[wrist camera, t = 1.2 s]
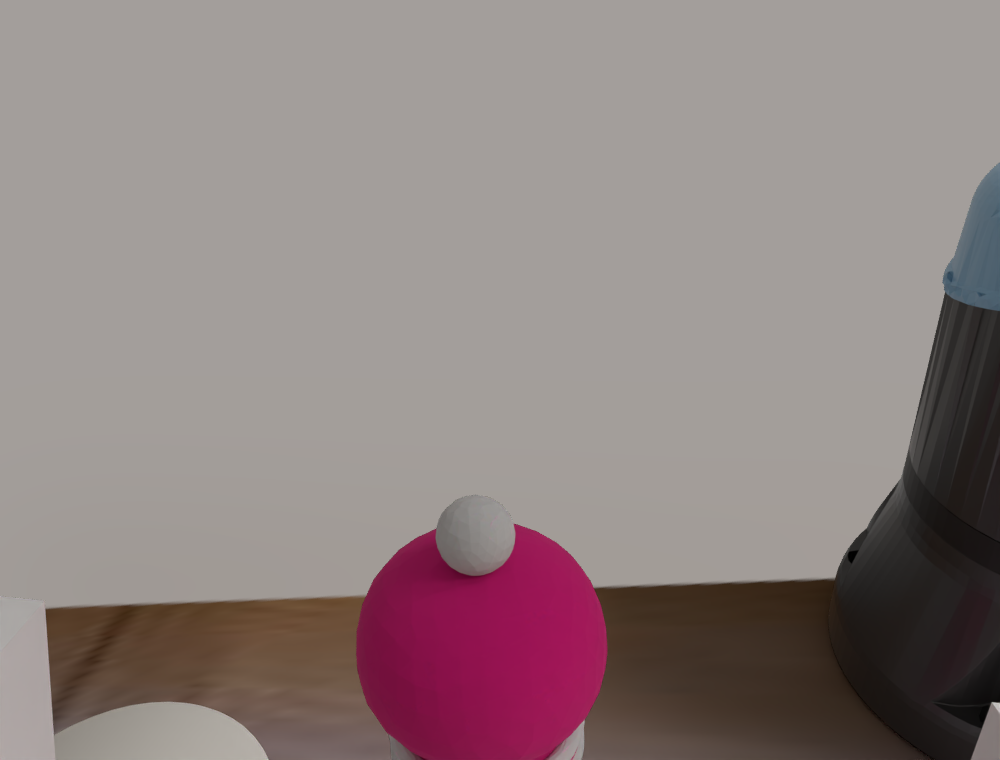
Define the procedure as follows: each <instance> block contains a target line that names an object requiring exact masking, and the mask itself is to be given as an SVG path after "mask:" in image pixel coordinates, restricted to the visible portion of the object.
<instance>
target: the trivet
mask: <svg viewBox="0 0 1000 760" xmlns="http://www.w3.org/2000/svg"><path fill="white" fill-rule="evenodd" d="M54 745H55V760H268V758H267V755H266V753H265V751H264V749H263V748H262V746H261V745H260V744H259V742H258V741H257V739H256V738H255V737H254V736H253V735H252V734H251V733H250V732H249V731H248V730H247V729H246V728H245V727H244V726H243V725H241V724H240V723H238V722H237V721H236V720H234V719H233V718H231V717H229V716H227V715H225V714H223V713H221V712H219V711H216V710H213V709H210V708H207V707H204V706H200V705H194V704H189V703H179V702H153V703H144V704H137V705H131V706H126V707H122V708H118V709H114V710H110V711H107V712H104V713H102V714H99V715H96V716H93V717H90V718H88V719H86V720H83V721H81V722H79V723H76V724H74V725H72V726H70V727H68V728H66V729H64V730H62V731H61V732H59V733H57V734H55V735H54Z"/></svg>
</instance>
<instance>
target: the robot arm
mask: <svg viewBox="0 0 1000 760" xmlns="http://www.w3.org/2000/svg"><path fill="white" fill-rule="evenodd" d="M943 284H944V290H945V295H944V300H943V304H942V308H941V313H940V317H939V321H938V326H937V330H936V334H935V338H934V343H933V347H932V351H931V356H930V360H929V364H928V368H927V373H926V377H925V381H924V385H923V390H922V394H921V398H920V402H919V407H918V411H917V415H916V420H915V424H914V428H913V432H912V436H911V441H910V445H909V450H908V454H907V458H906V462H905V466H904V469H903V474H902V477H901V479H900V480H899V481H898V483H897V484H896V485H895V487H894V488H893V489H892V491H891V492H890V493H889V495H888V496H887V497H886V499H885V500H884V501H883V503H882V504H881V506H880V507H879V508H878V510H877V511H876V513H875V514H874V516H873V518H872V519H871V521H870V523H869V525H868V527H867V529H866V530H864V531H863V532H862V533H861V534H860V535H859V536H858V537H857V538H856V539H855V541H854V542H853V543H852V545H851V546H850V547H849V548H848V550H847V552H846V553H845V555H844V557H843V559H842V561H841V563H840V566H839V568H838V571H837V575H836V578H835V583H834V588H833V593H832V597H831V602H830V607H829V616H828V625H829V634H830V639H831V643H832V647H833V650H834V652H835V655H836V658H837V660H838V662H839V664H840V666H841V668H842V670H843V672H844V674H845V675H846V677H847V679H848V680H849V682H850V683H851V685H852V686H853V688H854V689H855V690H856V692H857V693H858V694H859V696H860V697H861V698H862V699H863V700H864V701H865V703H866V704H867V705H868V706H869V707H870V708H871V709H872V710H873V711H874V712H875V713H876V714H877V715H878V716H879V717H880V718H881V719H882V720H883V721H884V722H885V723H886V724H887V725H888V726H889V727H891V728H892V729H893V730H894V731H896V732H897V733H898V734H899V735H900V736H902V737H903V738H904V739H906V740H907V741H908V742H910V743H911V744H912V745H914V746H915V747H917V748H918V749H920V750H921V751H923V752H924V753H926V754H927V755H929V756H931V757H932V758H934V759H936V760H1000V163H998V164H997V165H996V166H995V167H994V168H993V169H992V170H991V171H990V172H989V173H988V174H987V175H986V176H985V177H984V179H983V180H982V181H981V183H980V185H979V186H978V188H977V190H976V192H975V194H974V196H973V199H972V202H971V205H970V208H969V211H968V214H967V218H966V221H965V224H964V227H963V230H962V233H961V237H960V240H959V243H958V246H957V249H956V252H955V256H954V258H953V259H952V260H951V261H950V263H949V264H948V266H947V268H946V270H945V273H944V277H943ZM0 760H55V745H54V731H53V716H52V701H51V687H50V672H49V657H48V643H47V628H46V613H45V601H44V600H34V599H25V598H16V597H6V596H0Z"/></svg>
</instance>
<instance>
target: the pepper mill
mask: <svg viewBox="0 0 1000 760" xmlns="http://www.w3.org/2000/svg"><path fill="white" fill-rule="evenodd" d="M356 656H357V669H358V674H359V678H360V682H361V686H362V689H363V692H364V695H365V698H366V701H367V704H368V706H369V707H370V709H371V710H372V712H373V713H374V715H375V716H376V717H377V719H378V720H379V722H380V723H381V725H382V726H383V728H384V729H385V731H386V732H387V733H388V736H389V739H390V746H391V758H392V760H582V756H583V751H584V724H585V718H586V717H587V715H588V713H589V711H590V709H591V708H592V706H593V704H594V702H595V700H596V698H597V696H598V694H599V692H600V688H601V684H602V680H603V676H604V672H605V667H606V660H607V635H606V625H605V621H604V616H603V612H602V608H601V604H600V602H599V600H598V597H597V595H596V593H595V590H594V588H593V586H592V583H591V581H590V580H589V578H588V577H587V576H586V574H585V572H584V571H583V570H582V568H581V567H580V566H579V564H578V563H577V562H576V561H575V559H574V558H573V557H572V556H571V555H570V554H569V553H568V552H567V551H566V550H565V549H563V548H562V547H561V546H560V545H559V544H557V543H556V542H554V541H552V540H551V539H549V538H547V537H546V536H544V535H542V534H540V533H539V532H537V531H534V530H531V529H528V528H525V527H522V526H520V525H516V524H513V521H512V519H511V515H510V514H509V513H508V511H507V510H506V509H505V508H504V506H503V505H501V504H500V503H498V502H497V501H495V500H494V499H492V498H489V497H486V496H479V495H472V496H466V497H462V498H460V499H457V500H456V501H454V502H453V503H452V504H451V505H450V506H448V507H447V508H446V509H445V511H444V512H443V513H442V514H441V517H440V519H439V521H438V525H437V528H436V529H435V530H432V531H430V532H428V533H426V534H424V535H422V536H419V537H417V538H416V539H414V540H413V541H411V542H410V543H408V544H407V545H405V546H404V547H403V548H401V549H400V550H399V551H398V552H397V553H396V554H395V555H394V556H393V557H392V558H391V559H390V560H389V562H388V563H387V564H386V565H385V566H384V567H383V569H382V570H381V571H380V572H379V573H378V575H377V576H376V577H375V579H374V580H373V582H372V585H371V587H370V589H369V591H368V593H367V596H366V598H365V600H364V602H363V604H362V609H361V613H360V618H359V623H358V628H357V649H356Z"/></svg>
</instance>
